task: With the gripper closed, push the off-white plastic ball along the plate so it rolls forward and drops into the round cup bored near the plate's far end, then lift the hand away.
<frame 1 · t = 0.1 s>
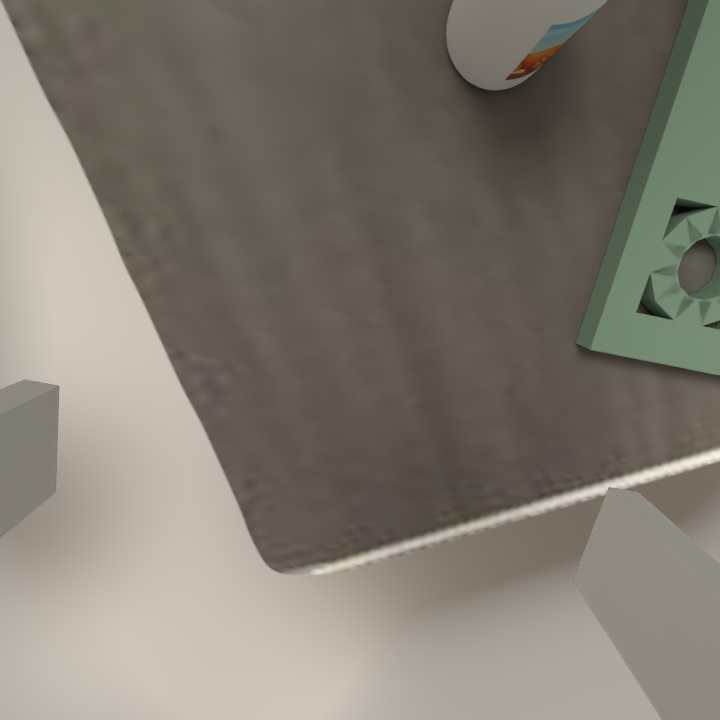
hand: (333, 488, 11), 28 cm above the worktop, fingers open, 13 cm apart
milk bottle: (495, 35, 33), on the worktop
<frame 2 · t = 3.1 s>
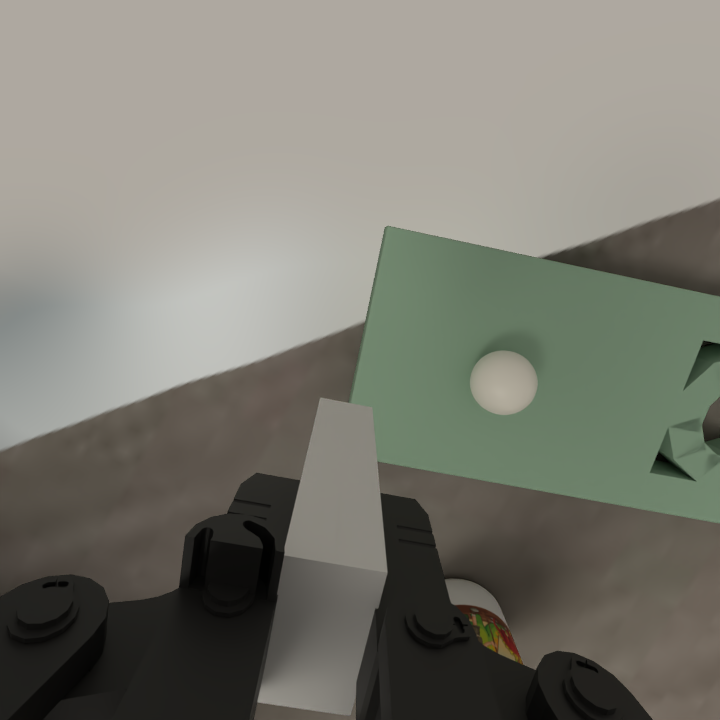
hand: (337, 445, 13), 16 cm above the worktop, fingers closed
ball: (503, 382, 25), point 4 cm above the worktop, touching plate
plate: (598, 385, 29), on the worktop
milk bottle: (449, 614, 34), on the worktop
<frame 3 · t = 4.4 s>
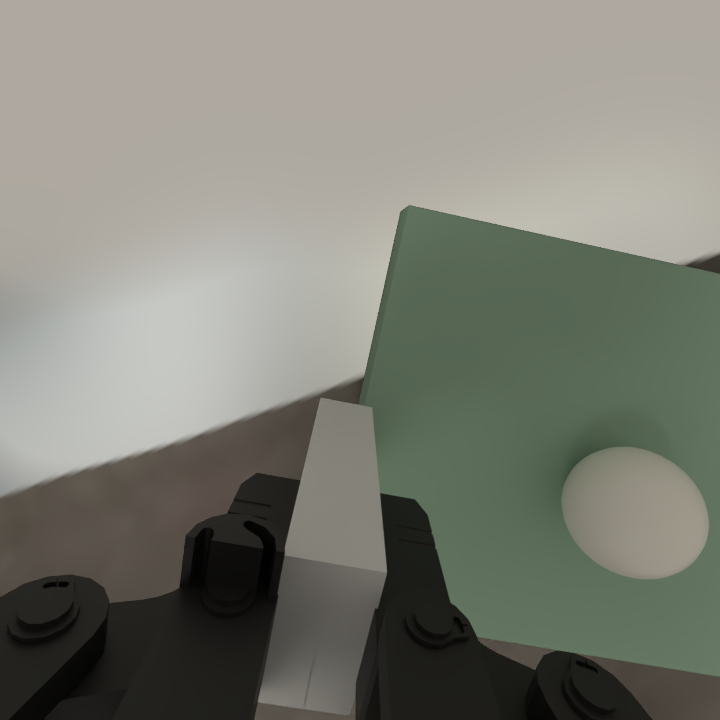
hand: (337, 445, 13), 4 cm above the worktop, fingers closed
ball: (629, 510, 13), point 4 cm above the worktop, touching plate
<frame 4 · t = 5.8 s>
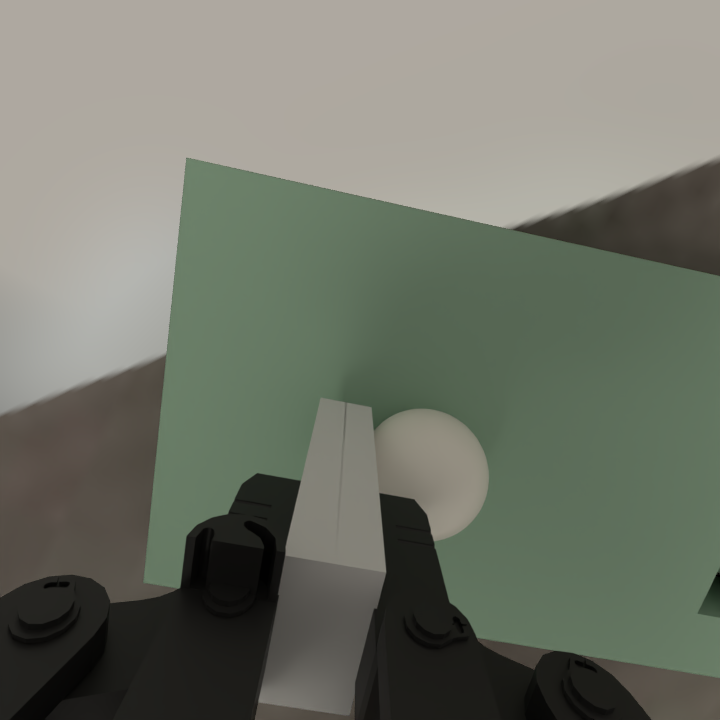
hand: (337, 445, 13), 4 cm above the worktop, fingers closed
ball: (422, 472, 12), point 4 cm above the worktop, touching gripper, plate
plate: (606, 454, 17), on the worktop
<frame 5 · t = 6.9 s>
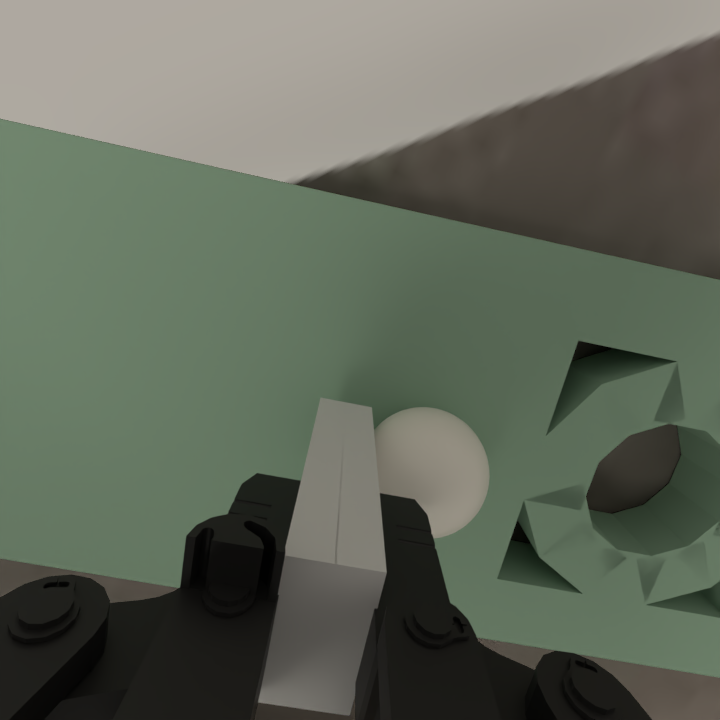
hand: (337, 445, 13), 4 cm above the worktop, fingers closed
ball: (423, 470, 13), point 4 cm above the worktop, tilted 143°, touching plate
plate: (418, 419, 17), on the worktop
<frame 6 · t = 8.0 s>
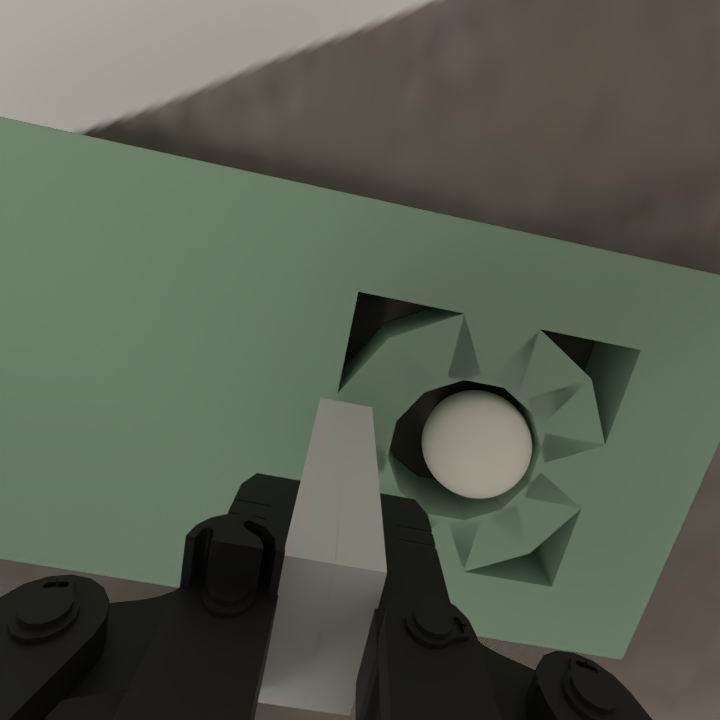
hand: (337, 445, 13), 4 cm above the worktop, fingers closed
ball: (475, 443, 15), point 2 cm above the worktop, tilted 173°
plate: (237, 382, 16), on the worktop
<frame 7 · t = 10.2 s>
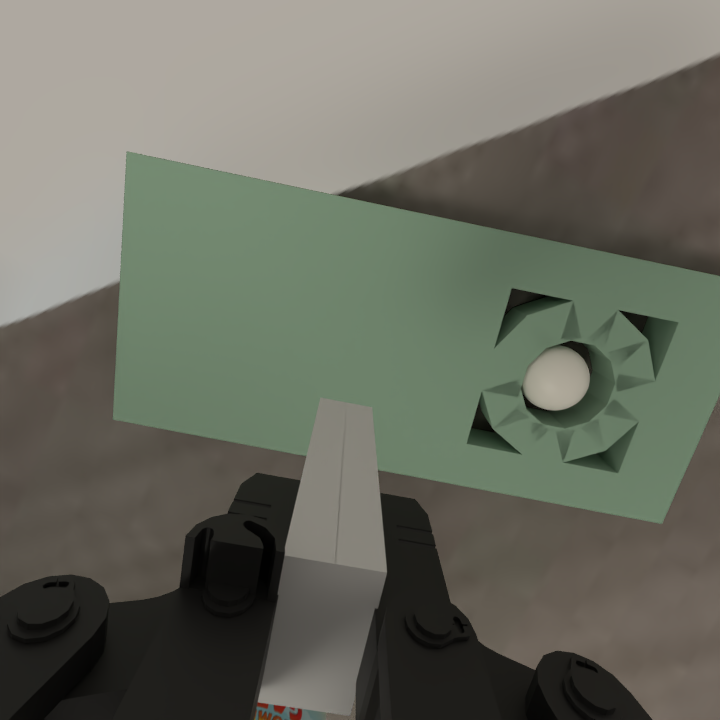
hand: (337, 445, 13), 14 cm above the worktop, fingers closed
ball: (552, 377, 24), point 2 cm above the worktop, tilted 152°
plate: (416, 345, 26), on the worktop
milk bottle: (281, 601, 31), on the worktop
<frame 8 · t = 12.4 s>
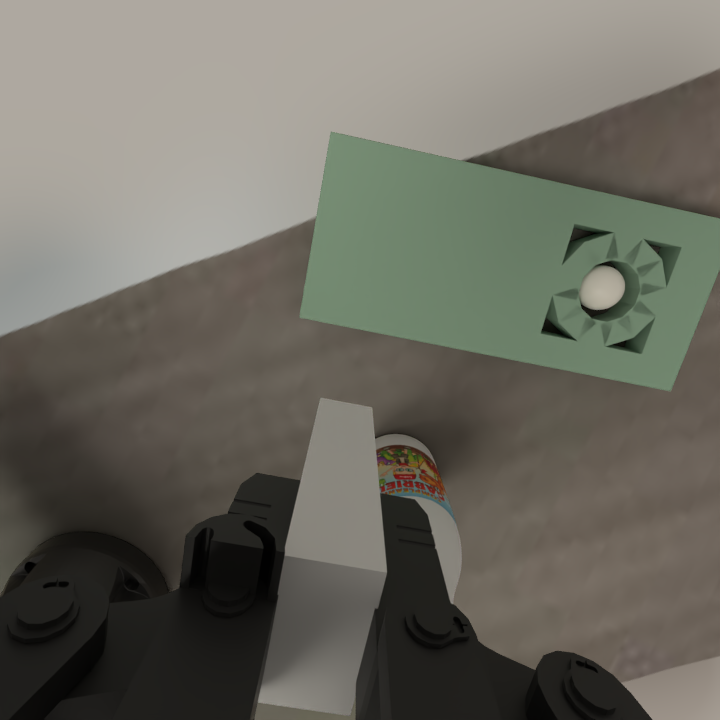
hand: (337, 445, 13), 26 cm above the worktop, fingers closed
ball: (599, 287, 36), point 2 cm above the worktop, tilted 155°
plate: (503, 269, 38), on the worktop
milk bottle: (394, 467, 42), on the worktop
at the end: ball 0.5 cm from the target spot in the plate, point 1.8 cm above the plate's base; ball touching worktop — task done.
